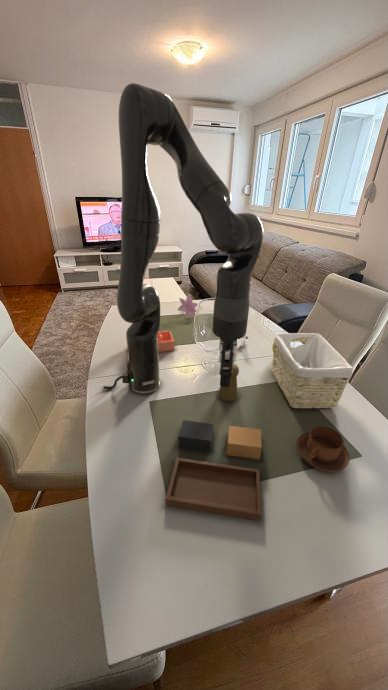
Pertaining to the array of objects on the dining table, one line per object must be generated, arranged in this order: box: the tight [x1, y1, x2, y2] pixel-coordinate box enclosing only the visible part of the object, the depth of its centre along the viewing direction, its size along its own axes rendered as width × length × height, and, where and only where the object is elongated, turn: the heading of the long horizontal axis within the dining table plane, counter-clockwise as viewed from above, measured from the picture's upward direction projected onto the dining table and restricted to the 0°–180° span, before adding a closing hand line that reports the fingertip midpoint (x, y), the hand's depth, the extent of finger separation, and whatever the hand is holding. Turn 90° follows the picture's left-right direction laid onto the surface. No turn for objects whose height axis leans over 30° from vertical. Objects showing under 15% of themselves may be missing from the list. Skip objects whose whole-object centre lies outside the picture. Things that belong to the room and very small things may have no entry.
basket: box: [271, 332, 354, 409], centre depth 95 cm, size 24×16×15 cm
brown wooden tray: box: [165, 457, 262, 522], centre depth 64 cm, size 19×11×2 cm, turn 81°
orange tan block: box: [226, 425, 263, 461], centre depth 74 cm, size 8×6×4 cm
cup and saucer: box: [296, 425, 350, 472], centre depth 72 cm, size 12×12×6 cm
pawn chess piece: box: [218, 362, 240, 402], centre depth 91 cm, size 6×6×11 cm
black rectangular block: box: [178, 419, 215, 453], centre depth 76 cm, size 8×6×4 cm
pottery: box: [158, 330, 175, 353], centre depth 119 cm, size 18×10×10 cm, turn 104°
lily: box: [177, 293, 199, 320], centre depth 150 cm, size 12×12×10 cm
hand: (225, 375), depth 72 cm, fingers open, 8 cm apart
